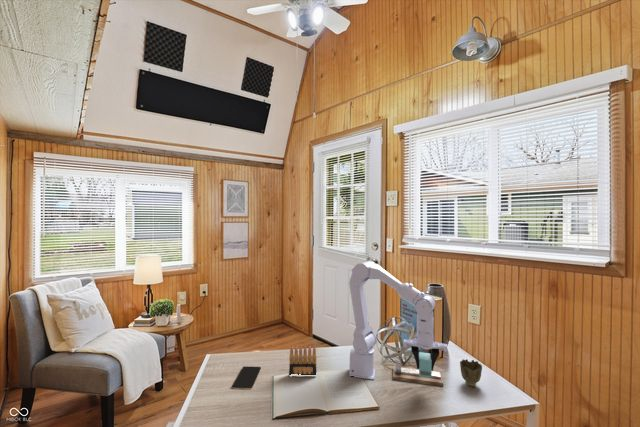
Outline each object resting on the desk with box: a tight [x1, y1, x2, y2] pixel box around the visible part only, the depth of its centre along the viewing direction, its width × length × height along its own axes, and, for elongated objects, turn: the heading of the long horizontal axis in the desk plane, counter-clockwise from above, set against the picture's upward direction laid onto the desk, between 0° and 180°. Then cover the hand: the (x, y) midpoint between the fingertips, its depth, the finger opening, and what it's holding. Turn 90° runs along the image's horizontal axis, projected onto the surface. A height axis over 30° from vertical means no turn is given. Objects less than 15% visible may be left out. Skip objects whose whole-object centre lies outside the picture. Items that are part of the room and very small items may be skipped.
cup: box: [459, 359, 483, 388], centre depth 116 cm, size 8×7×8 cm
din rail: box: [395, 363, 442, 379], centre depth 122 cm, size 17×5×2 cm, turn 76°
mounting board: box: [392, 364, 444, 387], centre depth 122 cm, size 18×9×1 cm, turn 76°
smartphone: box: [231, 365, 262, 390], centre depth 120 cm, size 7×1×15 cm
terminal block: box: [418, 351, 432, 378], centre depth 111 cm, size 4×7×6 cm, turn 166°
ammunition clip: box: [288, 344, 317, 376], centre depth 122 cm, size 11×2×12 cm, turn 91°
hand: (424, 368), depth 111 cm, fingers closed on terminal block, 4 cm apart
